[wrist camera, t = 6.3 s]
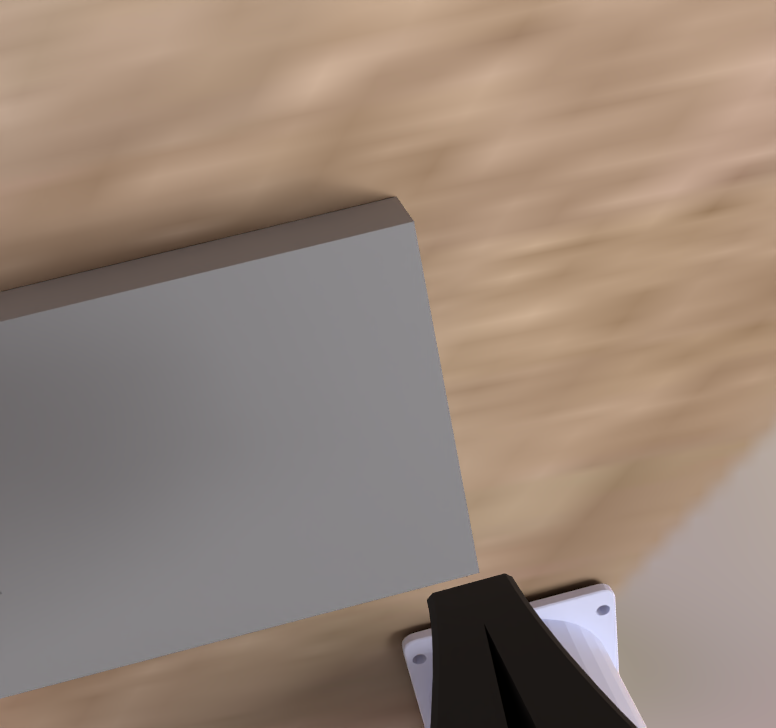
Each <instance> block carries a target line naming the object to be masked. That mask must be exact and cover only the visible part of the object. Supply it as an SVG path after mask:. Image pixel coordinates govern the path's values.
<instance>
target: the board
mask: <svg viewBox="0 0 776 728" xmlns="http://www.w3.org/2000/svg"><path fill="white" fill-rule="evenodd" d="M476 573H479V568H478V563H477V557H476V552H475V547H474V541H473V536H472V531H471V525H470V520H469V515H468V509H467V504H466V498H465V493H464V488H463V482H462V477H461V472H460V466H459V461H458V456H457V450H456V445H455V440H454V434H453V429H452V424H451V418H450V413H449V408H448V402H447V397H446V391H445V386H444V381H443V375H442V370H441V365H440V359H439V354H438V349H437V343H436V338H435V333H434V327H433V322H432V317H431V311H430V306H429V300H428V295H427V290H426V284H425V279H424V274H423V268H422V263H421V258H420V252H419V247H418V242H417V236H416V231H415V226H414V221H413V220H412V218H411V217H410V215H409V214H408V213H407V211H406V210H405V208H404V207H403V205H402V204H401V203H400V201H399V200H398V198H397V197H393V198H389V199H384V200H380V201H376V202H372V203H368V204H364V205H360V206H355V207H351V208H347V209H343V210H339V211H335V212H330V213H326V214H322V215H318V216H314V217H310V218H306V219H301V220H297V221H293V222H289V223H285V224H281V225H277V226H272V227H268V228H264V229H260V230H256V231H252V232H247V233H243V234H239V235H235V236H231V237H227V238H223V239H218V240H214V241H210V242H206V243H202V244H198V245H193V246H189V247H185V248H181V249H177V250H173V251H169V252H164V253H160V254H156V255H152V256H148V257H144V258H140V259H135V260H131V261H127V262H123V263H119V264H115V265H110V266H106V267H102V268H98V269H94V270H90V271H86V272H81V273H77V274H73V275H69V276H65V277H61V278H56V279H52V280H48V281H44V282H40V283H36V284H32V285H27V286H23V287H19V288H15V289H11V290H7V291H3V292H0V699H1V698H4V697H8V696H12V695H16V694H20V693H23V692H27V691H31V690H35V689H39V688H42V687H46V686H50V685H54V684H58V683H61V682H65V681H69V680H73V679H77V678H80V677H84V676H88V675H92V674H96V673H99V672H103V671H107V670H111V669H115V668H119V667H122V666H126V665H130V664H134V663H138V662H141V661H145V660H149V659H153V658H157V657H160V656H164V655H168V654H172V653H176V652H179V651H183V650H187V649H191V648H195V647H198V646H202V645H206V644H210V643H214V642H217V641H221V640H225V639H229V638H233V637H236V636H240V635H244V634H248V633H252V632H255V631H259V630H263V629H267V628H271V627H274V626H278V625H282V624H286V623H290V622H293V621H297V620H301V619H305V618H309V617H313V616H316V615H320V614H324V613H328V612H332V611H335V610H339V609H343V608H347V607H351V606H354V605H358V604H362V603H366V602H370V601H373V600H377V599H381V598H385V597H389V596H392V595H396V594H400V593H404V592H408V591H411V590H415V589H419V588H423V587H427V586H430V585H434V584H438V583H442V582H446V581H449V580H453V579H457V578H461V577H465V576H468V575H472V574H476Z"/></svg>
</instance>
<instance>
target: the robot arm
mask: <svg viewBox="0 0 776 728" xmlns="http://www.w3.org/2000/svg"><path fill="white" fill-rule="evenodd" d="M427 603H428V608H429V613H430V621H431V628H430V629H426V630H423V631H419V632H415V633H412V634H409V635H408V636H407V637H405V638H404V640H403V641H402V648H403V653H404V657H405V660H406V664H407V667H408V671H409V674H410V678H411V681H412V685H413V688H414V692H415V695H416V699H417V702H418V706H419V709H420V713H421V716H422V720H423V723H424V727H425V728H647V727H646V725H645V723H644V721H643V719H642V717H641V715H640V713H639V711H638V710H637V708H636V706H635V704H634V702H633V700H632V698H631V696H630V695H629V693H628V691H627V689H626V687H625V685H624V683H623V681H622V679H621V677H620V675H619V665H618V644H617V625H616V606H615V595H614V593H613V591H612V589H611V587H610V586H608V585H607V584H596V585H592V586H589V587H585V588H581V589H577V590H573V591H570V592H566V593H562V594H558V595H555V596H551V597H547V598H543V599H539V600H536V601H532V602H528V600H527V599H526V597H525V596H524V595H523V593H522V592H521V590H520V589H519V587H518V585H517V584H516V582H515V581H514V579H513V577H511V576H509V575H507V574H501V575H498V576H494V577H490V578H487V579H483V580H479V581H476V582H472V583H468V584H465V585H461V586H457V587H454V588H450V589H446V590H442V591H439V592H435V593H432V594H431V596H430V597H429V598H428V599H427ZM419 654H420V655H419Z"/></svg>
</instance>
